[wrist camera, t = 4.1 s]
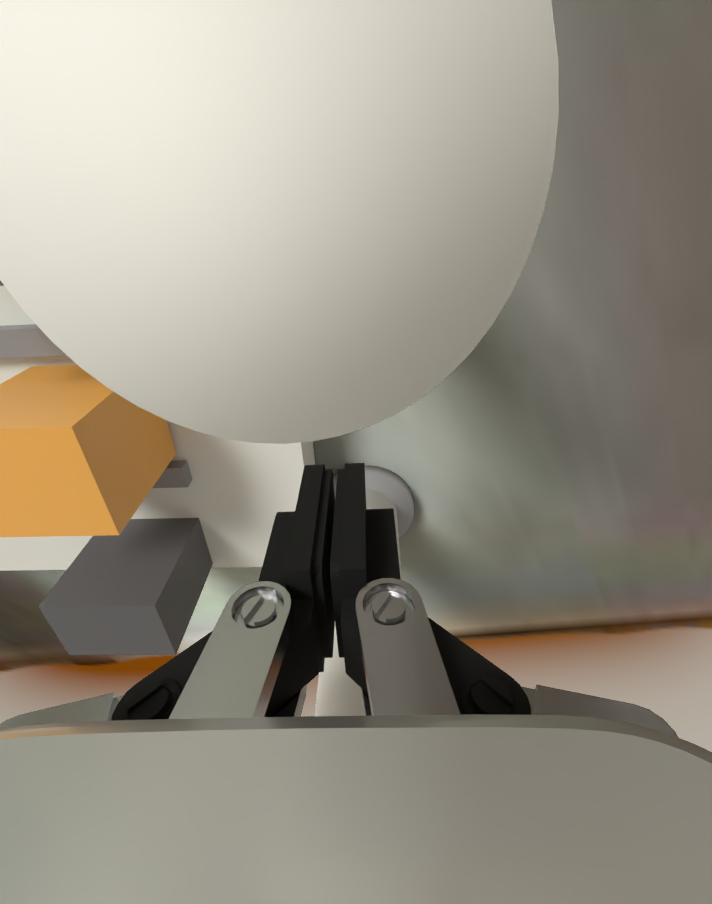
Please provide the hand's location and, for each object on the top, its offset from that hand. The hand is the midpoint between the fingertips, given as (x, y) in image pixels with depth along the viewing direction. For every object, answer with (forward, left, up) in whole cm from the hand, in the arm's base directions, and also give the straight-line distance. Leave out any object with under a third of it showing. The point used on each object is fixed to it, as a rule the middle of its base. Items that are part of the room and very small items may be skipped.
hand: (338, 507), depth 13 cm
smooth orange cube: (+10, 0, -6) cm, 11 cm away
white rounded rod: (0, -8, -9) cm, 12 cm away
